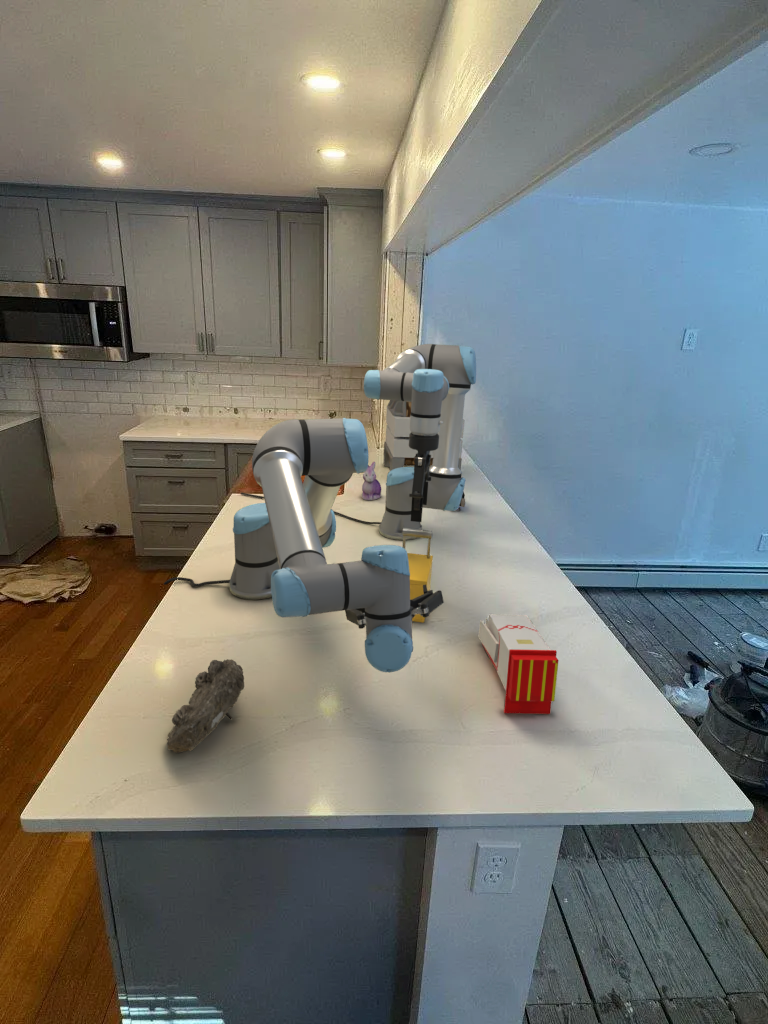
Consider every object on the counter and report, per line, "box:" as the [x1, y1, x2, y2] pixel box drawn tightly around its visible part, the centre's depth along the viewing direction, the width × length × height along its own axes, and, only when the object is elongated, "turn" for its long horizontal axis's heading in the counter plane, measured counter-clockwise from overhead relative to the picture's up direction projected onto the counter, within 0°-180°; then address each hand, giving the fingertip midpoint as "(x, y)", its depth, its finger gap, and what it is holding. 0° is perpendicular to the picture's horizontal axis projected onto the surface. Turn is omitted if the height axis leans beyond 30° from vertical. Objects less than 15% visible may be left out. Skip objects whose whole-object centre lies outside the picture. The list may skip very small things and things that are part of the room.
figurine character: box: [457, 491, 466, 511], centre depth 229 cm, size 7×8×15 cm
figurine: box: [361, 461, 382, 501], centre depth 234 cm, size 9×10×15 cm
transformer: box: [383, 400, 465, 472], centre depth 268 cm, size 34×33×41 cm
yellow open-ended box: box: [410, 564, 433, 623], centre depth 150 cm, size 16×9×10 cm, turn 170°
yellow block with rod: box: [402, 528, 434, 586], centre depth 147 cm, size 16×9×9 cm, turn 170°
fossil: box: [166, 658, 245, 754], centre depth 106 cm, size 22×10×15 cm
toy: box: [477, 613, 560, 715], centre depth 124 cm, size 12×13×30 cm
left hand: (394, 595), depth 124 cm, fingers open, 13 cm apart
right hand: (419, 512), depth 150 cm, fingers open, 13 cm apart
